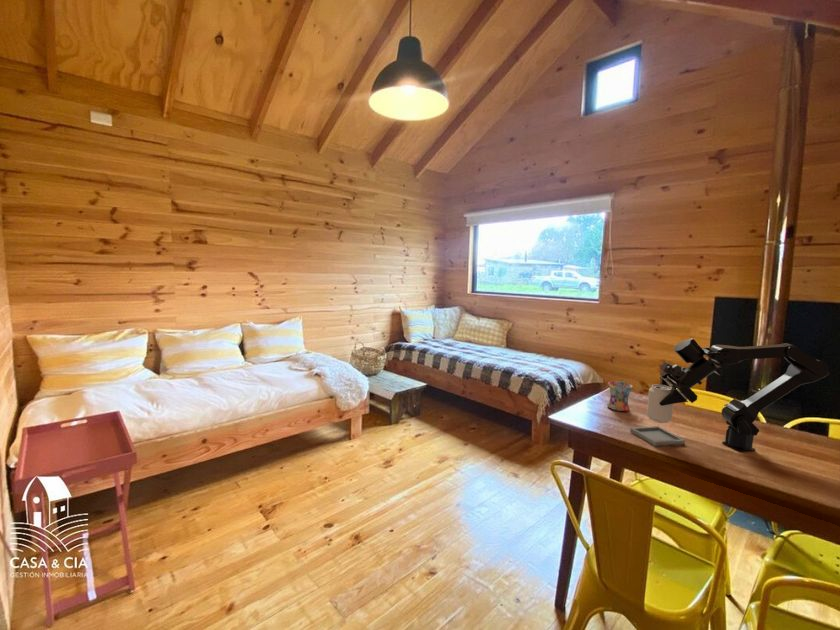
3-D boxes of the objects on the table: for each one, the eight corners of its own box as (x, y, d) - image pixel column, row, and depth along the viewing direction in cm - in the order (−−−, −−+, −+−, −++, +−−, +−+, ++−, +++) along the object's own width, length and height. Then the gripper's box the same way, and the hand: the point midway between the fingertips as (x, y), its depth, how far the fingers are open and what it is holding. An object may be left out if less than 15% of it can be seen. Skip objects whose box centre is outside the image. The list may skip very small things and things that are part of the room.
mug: (625, 414, 157) (628, 389, 156) (602, 408, 164) (604, 383, 162) (635, 407, 165) (638, 383, 164) (613, 401, 172) (615, 378, 171)
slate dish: (684, 444, 131) (685, 440, 131) (655, 446, 129) (655, 442, 129) (657, 430, 143) (658, 426, 142) (630, 431, 140) (630, 427, 140)
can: (652, 413, 141) (655, 382, 139) (675, 420, 135) (678, 387, 133) (642, 418, 136) (645, 385, 135) (665, 425, 130) (669, 391, 129)
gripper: (668, 349, 141) (632, 376, 145) (690, 361, 123) (648, 391, 127) (690, 372, 140) (653, 398, 144) (715, 387, 122) (672, 417, 126)
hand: (656, 400), depth 135 cm, fingers closed on can, 7 cm apart
